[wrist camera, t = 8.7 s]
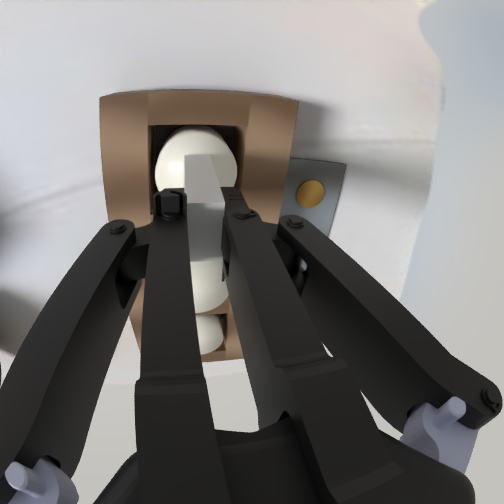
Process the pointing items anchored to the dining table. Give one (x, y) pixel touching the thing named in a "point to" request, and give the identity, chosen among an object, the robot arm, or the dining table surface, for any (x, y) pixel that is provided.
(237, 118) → the button board
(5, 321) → the dining table surface
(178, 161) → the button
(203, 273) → the middle button
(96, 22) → the dining table surface
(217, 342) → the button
